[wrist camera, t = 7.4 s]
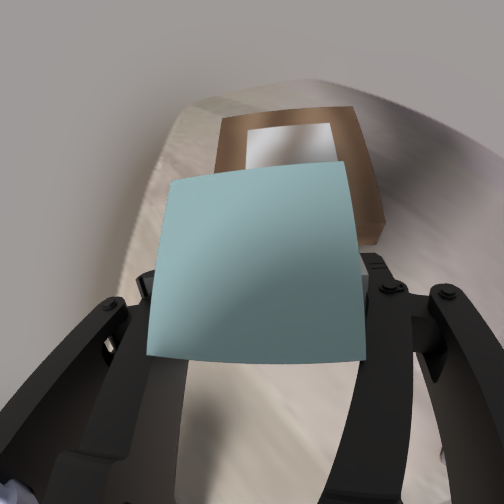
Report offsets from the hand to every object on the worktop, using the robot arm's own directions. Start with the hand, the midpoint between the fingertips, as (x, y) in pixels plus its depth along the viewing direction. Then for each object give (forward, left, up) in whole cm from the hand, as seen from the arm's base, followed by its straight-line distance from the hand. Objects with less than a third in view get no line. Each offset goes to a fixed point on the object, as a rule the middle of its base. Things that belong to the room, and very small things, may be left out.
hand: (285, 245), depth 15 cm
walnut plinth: (0, -10, -9) cm, 14 cm away
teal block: (0, +4, -4) cm, 5 cm away
